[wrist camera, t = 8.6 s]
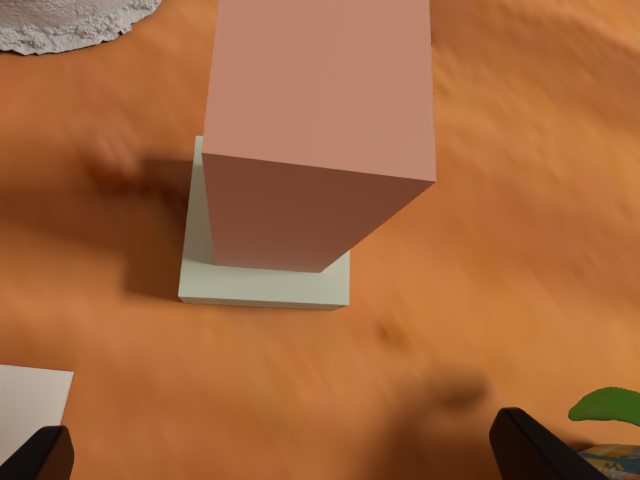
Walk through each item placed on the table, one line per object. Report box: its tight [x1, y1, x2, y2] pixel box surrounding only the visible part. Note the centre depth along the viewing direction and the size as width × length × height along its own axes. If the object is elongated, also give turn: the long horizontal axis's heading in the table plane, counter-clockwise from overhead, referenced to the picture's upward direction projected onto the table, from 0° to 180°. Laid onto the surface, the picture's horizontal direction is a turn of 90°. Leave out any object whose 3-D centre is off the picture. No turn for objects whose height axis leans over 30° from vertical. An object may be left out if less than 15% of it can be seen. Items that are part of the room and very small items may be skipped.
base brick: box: [178, 136, 350, 310], centre depth 22 cm, size 8×8×3 cm
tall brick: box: [201, 0, 436, 273], centre depth 15 cm, size 5×5×12 cm
